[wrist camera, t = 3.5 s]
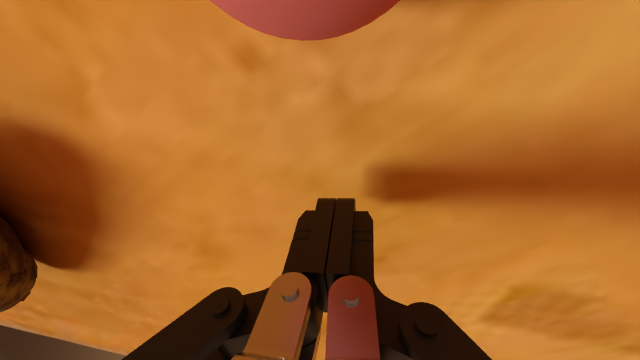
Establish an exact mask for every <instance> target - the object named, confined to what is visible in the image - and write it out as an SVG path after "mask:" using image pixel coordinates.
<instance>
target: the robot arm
mask: <svg viewBox="0 0 640 360" xmlns="http://www.w3.org/2000/svg"><path fill="white" fill-rule="evenodd" d="M323 312H328V315H327V335H326V355H325V360H492V359H491V358H490V357H489V356H488V355H487V354H486V353H485V352H484V351H483V350H482V349H481V348H480V347H479V346H478V345H477V344H476V343H475V342H474V341H473V340H472V339H471V338H470V337H469V336H468V335H467V334H466V333H465V332H464V331H463V330H462V329H460V328H459V327H458V326H457V325H456V324H455V323H454V322H453V321H452V320H451V319H450V318H449V317H448V316H447V315H446V314H445V313H444V312H443V311H442V310H441V309H439V308H438V307H436V306H434V305H432V304H429V303H424V302H417V303H413V304H410V305H409V306H406V305H403V304H401V303H398V302H396V301H393V300H391V299H389V298H387V297H386V296H385V295H383V294H382V293H381V292H380V290H379V289H378V288H377V286H376V284H375V281H374V254H373V220H372V218H371V216H370V215H369V213H368V211H356V208H355V198H337V200H336V198H319V199H318V201H317V205H316V209H315V211H308V210H306V211H305V212H304V213H303V214H302V216H301V217H300V218H299V219H298V222H297V226H296V229H295V232H294V236H293V240H292V242H291V246H290V249H289V253H288V256H287V259H286V263H285V266H284V270H283V273H282V275H281V276H279V277H278V278H276V279H275V280H274V281H273V283H272V284H271V286H270V287H269V288H267V289H265V290H262V291H258V292H254V293H250V294H246V295H242V294H241V292H240V291H239V290H237V289H235V288H231V287H225V288H221V289H218V290H216V291H214V292H213V293H211V294H210V295H209V296H207V297H206V298H204V299H203V300H202V301H200V302H199V303H198V304H196V305H195V306H194V307H192V308H191V309H190V310H188V311H187V312H185V313H184V314H183V315H181V316H180V317H179V318H177V319H176V320H175V321H173V322H172V323H171V324H169V325H168V326H166V327H165V328H164V329H162V330H161V331H160V332H158V333H157V334H156V335H154V336H153V337H152V338H150V339H149V340H147V341H146V342H145V343H143V344H142V345H141V346H139V347H138V348H137V349H135V350H134V351H133V352H131V353H130V354H128V355H127V356H126V357H124V358H123V359H122V360H316V355H317V350H318V345H319V341H320V336H321V322H322V315H323Z"/></svg>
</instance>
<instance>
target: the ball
mask: <svg viewBox="0 0 640 360" xmlns="http://www.w3.org/2000/svg"><path fill="white" fill-rule="evenodd" d="M210 1H211V2H213V3H214V4H215V5H217V6H218V7H219V8H221V9H222V10H223V11H225V12H226V13H227V14H229V15H230V16H231V17H233V18H235V19H236V20H238V21H240V22H242V23H243V24H245V25H247V26H249V27H251V28H253V29H256V30H258V31H260V32H263V33H265V34H269V35H273V36H276V37H280V38H286V39H294V40H322V39H328V38H333V37H338V36H341V35H344V34H347V33H350V32H353V31H355V30H357V29H359V28H361V27H363V26H365V25H367V24H369V23H371V22H372V21H374V20H375V19H377V18H378V17H380V16H381V15H383V14H384V13H386V12H387V11H388V10H389V9H391V8H392V7H393V6H394V5H395V4H396V3H398V2H399V1H400V0H210Z"/></svg>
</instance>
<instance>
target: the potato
mask: <svg viewBox="0 0 640 360" xmlns="http://www.w3.org/2000/svg"><path fill="white" fill-rule="evenodd" d="M13 230H14V228H13V227H12V226H11V225H10V224H9V223H7V222H6V221H5V220H3V219H2V218H1V217H0V312H3V311H5V310H8V309H10V308H12V307H13V306H15V305H16V304H18V303H19V302H20V301H24V300H25V299H26V297H27V296H28V295H29V294H30V293H31V292H30V291H31V289H32V288H33V286H34V284H35V281H36V278H37V265H36V263H35V261H34V259H33V257H32V256H31V255H30V254H29V253H28V252H27V251H26V250H25V249H24V248H23V247H22V246H21V243H20V241H19V239H18V237H17V236H16V234H15V232H14V231H13Z"/></svg>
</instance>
